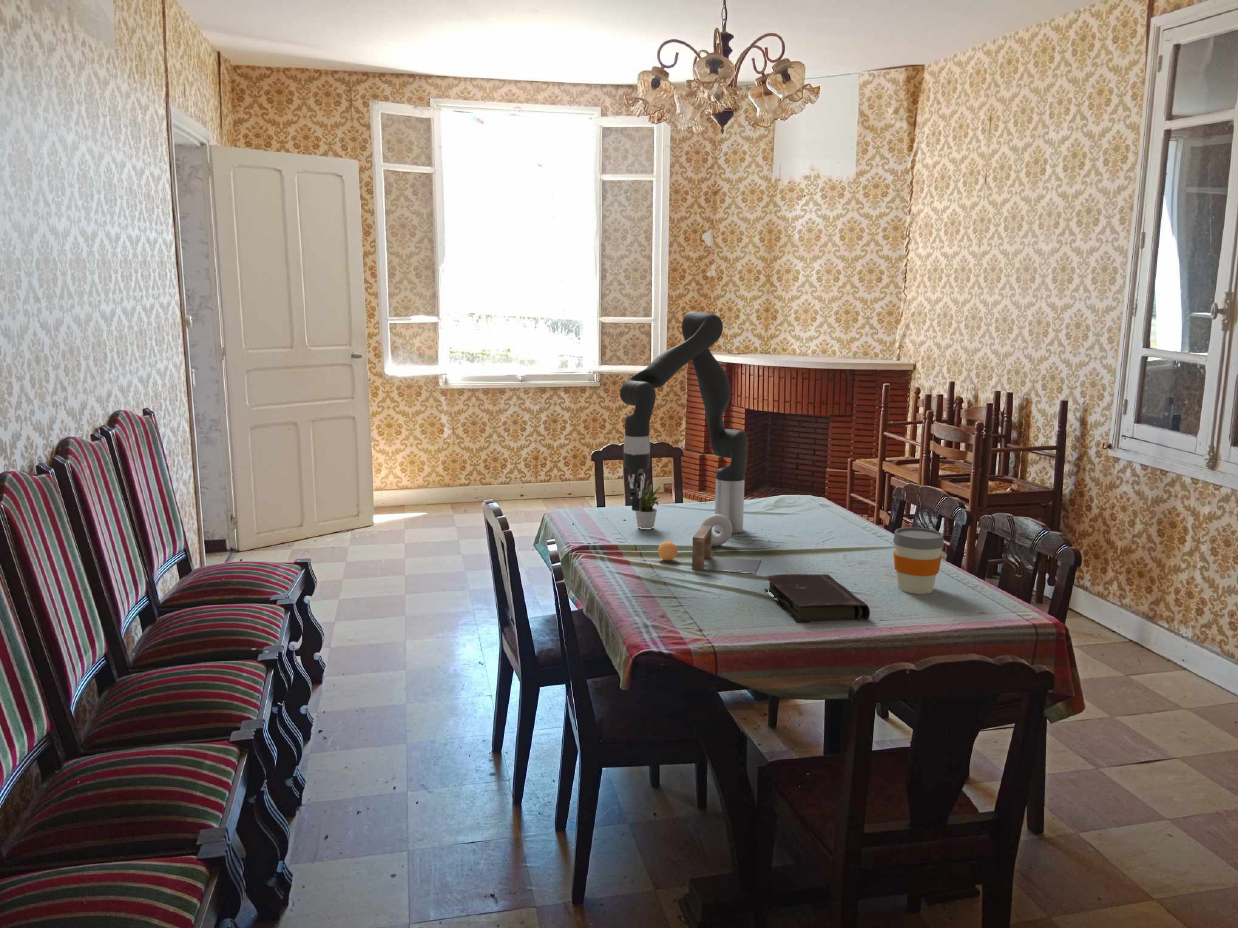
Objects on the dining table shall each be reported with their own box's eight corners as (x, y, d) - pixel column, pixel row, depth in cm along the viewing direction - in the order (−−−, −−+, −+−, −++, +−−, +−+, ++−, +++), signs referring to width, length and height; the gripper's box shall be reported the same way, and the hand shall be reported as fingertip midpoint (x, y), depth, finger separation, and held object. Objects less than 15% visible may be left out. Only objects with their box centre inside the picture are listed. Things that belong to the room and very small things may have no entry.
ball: (660, 556, 273) (660, 538, 272) (678, 558, 271) (679, 540, 270) (656, 561, 267) (656, 543, 266) (674, 563, 266) (675, 544, 265)
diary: (829, 591, 245) (831, 572, 244) (869, 623, 220) (870, 603, 219) (761, 592, 242) (762, 574, 241) (793, 625, 217) (794, 605, 217)
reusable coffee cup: (907, 597, 237) (911, 540, 234) (881, 583, 249) (884, 528, 246) (950, 593, 240) (954, 537, 238) (922, 579, 252) (926, 525, 250)
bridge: (691, 569, 260) (692, 537, 259) (700, 555, 274) (701, 525, 272) (702, 570, 259) (703, 538, 258) (710, 556, 273) (711, 526, 272)
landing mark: (712, 557, 273) (712, 556, 273) (760, 560, 269) (760, 560, 269) (704, 570, 260) (704, 569, 260) (755, 574, 256) (755, 573, 256)
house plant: (614, 531, 302) (615, 481, 299) (626, 521, 315) (627, 474, 312) (657, 534, 298) (658, 484, 295) (667, 525, 311) (668, 477, 308)
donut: (701, 547, 283) (702, 515, 281) (698, 544, 286) (699, 513, 285) (733, 546, 285) (734, 514, 283) (730, 543, 288) (731, 512, 286)
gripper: (629, 447, 273) (629, 504, 276) (618, 453, 261) (617, 514, 264) (654, 448, 272) (653, 506, 274) (644, 455, 259) (643, 516, 262)
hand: (636, 510), depth 269 cm, fingers closed
